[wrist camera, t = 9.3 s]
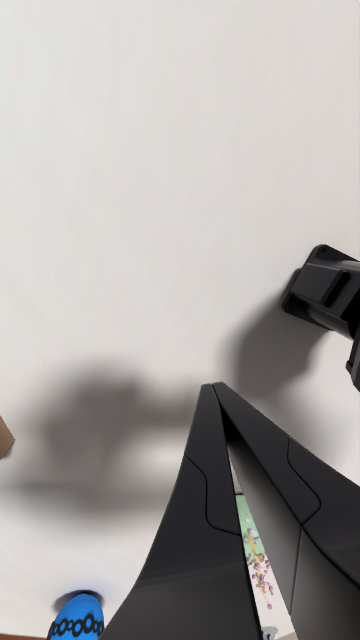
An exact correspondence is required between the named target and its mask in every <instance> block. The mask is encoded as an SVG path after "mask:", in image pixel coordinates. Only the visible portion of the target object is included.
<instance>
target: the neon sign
mask: <svg viewBox="0 0 360 640" xmlns="http://www.w3.org/2000/svg"><path fill="white" fill-rule="evenodd" d="M261 629H262V634H263V638H264V640H273V639H274V637H275V634H276V633H277V632H278V629H277V628H276V627H273V626H264V627H261Z"/></svg>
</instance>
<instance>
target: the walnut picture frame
mask: <svg viewBox="0 0 360 640" xmlns="http://www.w3.org/2000/svg"><path fill="white" fill-rule="evenodd" d="M14 440H15V439H14V437H13V436H12V434H11V432H10V431H9V429H8V427H7V426H6V424H5V422H4V421H3V419H2V417H1V416H0V460H1V458H2V457H3V456H4V454H5V453H6V452H7V450H8V449H9V447H10V446H11V445H12V443H13V442H14Z"/></svg>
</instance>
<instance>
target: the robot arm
mask: <svg viewBox="0 0 360 640" xmlns="http://www.w3.org/2000/svg"><path fill="white" fill-rule="evenodd" d="M322 248H323V251H322V252H321V253H320V250H321V249H322ZM287 306H289V308H288V309H286V308H287ZM282 310H283V311H284V312H286V313H288V314H291V315H293V316H296V317H298V318H301V319H303V320H306V321H308V322H311V323H313V324H316V325H318V326H321V327H323V328H326V329H328V330H331V331H335V332H337V333H339V334H341V335H343V336H344V337H346V338H348V339H350V340H352V341H353V346H352V350H351V354H350V358H349V360H348V361H347V363H346V369H347V371H348V372H349V373H350V375H351V379H352V382H353V385H354V386H355V387H356V388H357V390H358V391H359V392H360V261H358V260H356V259H354V258H352V257H350V256H348V255H346V254H344V253H342V252H340V251H338V250H336V249H334V248H332V247H330V246H328V245H325V244H320V245H318V246H317V247H316V248H315V250H314V251H313V253H312V255H311V257H310V258H309V260H308V262H307V263H306V264H305V266H304V267H303V269H302V271H301V272H300V274H299V276H298V278H297V279H296V281H295V283H294V284H293V286H292V288H291V291H290V293H289V294H288V296H287V298H286V299H285V301H284V303H283V305H282ZM229 457H230V460H231V462H232V465H233V468H234V470H235V473H236V476H237V478H238V481H239V484H240V486H241V489H242V492H243V494H244V497H245V499H246V502H247V505H248V507H249V510H250V513H251V515H252V518H253V521H254V523H255V526H256V528H257V531H258V534H259V536H260V539H261V542H262V544H263V547H264V550H265V552H266V555H267V558H268V560H269V563H270V565H271V568H272V571H273V573H274V576H275V579H276V581H277V584H278V587H279V589H280V592H281V595H282V597H283V600H284V602H285V605H286V608H287V610H288V613H289V615H290V616H291V621H292V624H293V626H294V629H295V632H296V634H297V637H298V639H299V640H360V486H358V485H357V484H355V483H354V482H352V481H351V480H349V479H348V478H346V477H345V476H343V475H342V474H340V473H339V472H337V471H336V470H335V469H333V468H332V467H330V466H329V465H327V464H326V463H325V462H323V461H322V460H320V459H319V458H317V457H316V456H315V455H314V454H312V453H311V452H310V451H308V450H307V449H306V448H304V447H303V446H302V445H301V444H299V443H298V442H297V441H296V440H294V439H293V438H292V437H290V436H289V435H288V434H287V433H285V432H284V431H283V430H282V429H280V428H279V427H278V426H277V425H275V424H274V423H273V422H272V421H270V420H269V419H268V418H267V417H266V416H264V415H263V414H262V413H261V412H259V411H258V410H257V409H256V408H254V407H253V406H252V405H251V404H249V403H248V402H247V401H246V400H244V399H243V398H242V397H241V396H239V395H238V394H237V393H236V392H234V391H233V390H232V389H231V388H229V387H228V386H227V385H226V384H224V383H223V382H215V383H212V384H210V383H209V384H203V385H202V386H201V389H200V393H199V396H198V400H197V404H196V408H195V412H194V416H193V420H192V424H191V428H190V432H189V436H188V440H187V443H186V447H185V451H184V456H183V459H182V463H181V466H180V470H179V473H178V477H177V480H176V484H175V486H174V489H173V492H172V495H171V498H170V500H169V503H168V506H167V508H166V511H165V513H164V516H163V518H162V521H161V524H160V526H159V529H158V531H157V534H156V536H155V539H154V541H153V544H152V547H151V549H150V552H149V554H148V557H147V559H146V561H145V564H144V566H143V568H142V570H141V572H140V575H139V577H138V578H137V580H136V582H135V584H134V586H133V588H132V589H131V591H130V593H129V594H128V596H127V597H126V599H125V600H124V602H123V603H122V605H121V606H120V607H119V609H118V610H117V612H116V613H115V615H114V616H113V618H112V619H111V621H110V622H109V624H108V625H107V626H106V628H105V629H104V631H103V632H102V634H101V635H100V637H99V638H98V640H264V638H263V634H262V629H261V625H260V620H259V616H258V611H257V607H256V602H255V598H254V593H253V589H252V584H251V579H250V575H249V570H248V564H247V559H246V554H245V548H244V542H243V539H242V531H241V525H240V519H239V513H238V507H237V501H236V495H235V489H234V484H233V478H232V472H231V466H230V460H229Z"/></svg>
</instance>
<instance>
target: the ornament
mask: <svg viewBox="0 0 360 640" xmlns="http://www.w3.org/2000/svg"><path fill="white" fill-rule="evenodd" d="M104 629H105V628H104V617H103V611H102V608H101V605H100V603H99V602H98V600H97V599H96V598H95V597H94V596H93V595H91V594H88V593H82V594H80V595H77V596H75V597H73V598H72V599H71V600H70V601H69V602H67V603H66V604H65V606H64V607H63V608H62V609H61V611H60V612H59V614H58V615H57V617H56V619H55V621H53V622H52V624H51V627H50V629H49V632H48V636H47V640H98V638H99V637H100V635H101V634H102V632H103V631H104Z"/></svg>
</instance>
